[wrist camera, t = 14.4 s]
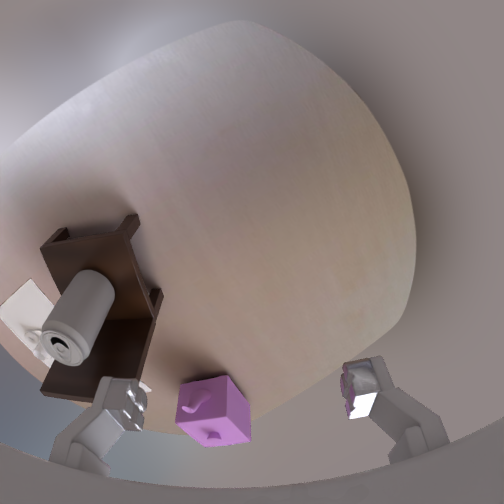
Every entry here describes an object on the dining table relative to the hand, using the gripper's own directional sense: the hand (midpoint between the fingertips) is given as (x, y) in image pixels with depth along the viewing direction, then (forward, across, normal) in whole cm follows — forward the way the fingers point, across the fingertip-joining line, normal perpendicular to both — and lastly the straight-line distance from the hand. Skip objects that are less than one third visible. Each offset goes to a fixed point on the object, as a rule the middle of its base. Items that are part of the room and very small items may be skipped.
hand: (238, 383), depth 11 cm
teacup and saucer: (+29, +45, +25) cm, 60 cm away
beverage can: (+24, +21, +11) cm, 34 cm away
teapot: (+29, +11, +42) cm, 52 cm away
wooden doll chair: (+30, +21, +11) cm, 38 cm away
